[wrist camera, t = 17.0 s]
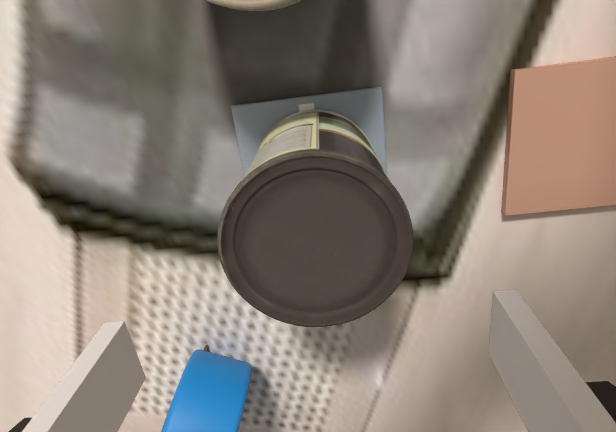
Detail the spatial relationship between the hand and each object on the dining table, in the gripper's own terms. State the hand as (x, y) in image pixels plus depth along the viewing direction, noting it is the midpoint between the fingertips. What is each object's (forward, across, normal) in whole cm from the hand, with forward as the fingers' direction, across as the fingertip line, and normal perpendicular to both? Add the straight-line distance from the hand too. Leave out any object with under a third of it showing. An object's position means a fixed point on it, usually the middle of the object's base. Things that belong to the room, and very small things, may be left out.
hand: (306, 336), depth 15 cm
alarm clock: (+22, -14, -23) cm, 34 cm away
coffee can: (+22, 0, 0) cm, 22 cm away
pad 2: (+22, +22, -1) cm, 31 cm away
